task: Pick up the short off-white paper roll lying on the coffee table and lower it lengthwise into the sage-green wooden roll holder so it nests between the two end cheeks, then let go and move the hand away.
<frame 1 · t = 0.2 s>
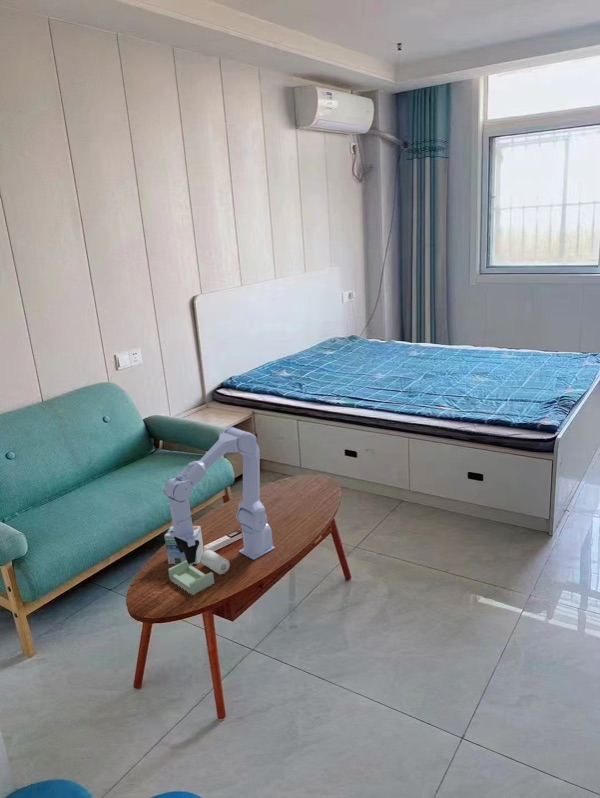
hand: (187, 557, 179), 10 cm above the table, tool pointing down, fingers open, 7 cm apart
roll: (214, 562, 189), point 2 cm above the table
holder: (191, 582, 183), on the table
light bulb box: (186, 559, 197), on the table
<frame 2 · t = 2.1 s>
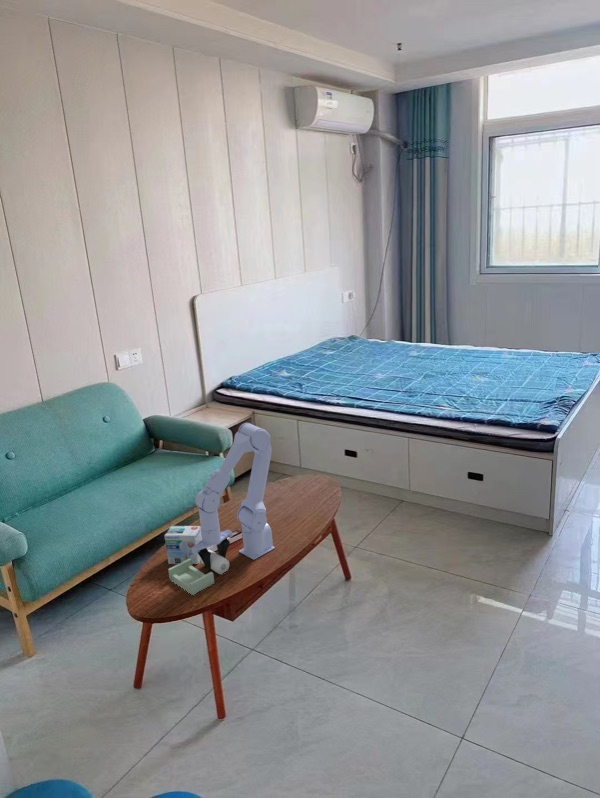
hand: (215, 564, 189), 1 cm above the table, tool pointing down, fingers closed on roll, 5 cm apart
roll: (214, 561, 189), point 2 cm above the table, touching gripper
everything else where it was.
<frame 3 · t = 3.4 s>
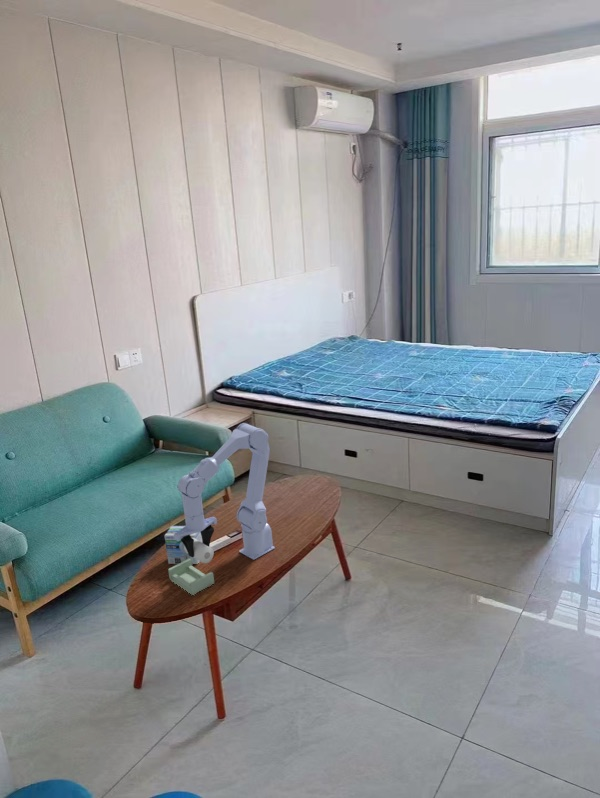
hand: (199, 552, 183), 9 cm above the table, tool pointing down, fingers closed on roll, 5 cm apart
roll: (198, 550, 183), point 9 cm above the table, tilted 5°, touching gripper
everything else where it was.
when the fingers open (4 cm above the table, at t = 5.1 s): roll stays where it is, resting on holder.
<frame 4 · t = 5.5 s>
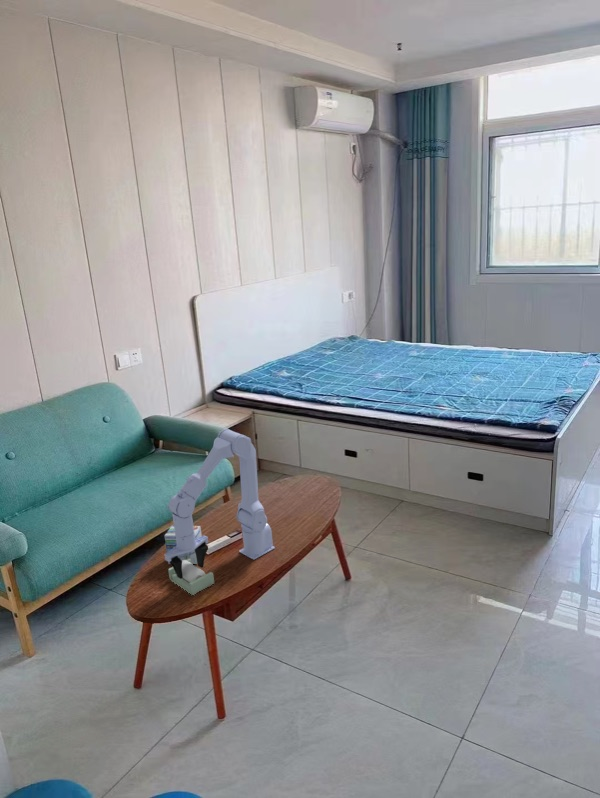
hand: (190, 571, 182), 4 cm above the table, tool pointing down, fingers open, 7 cm apart
roll: (190, 572, 182), point 3 cm above the table, touching holder
everything else where it was.
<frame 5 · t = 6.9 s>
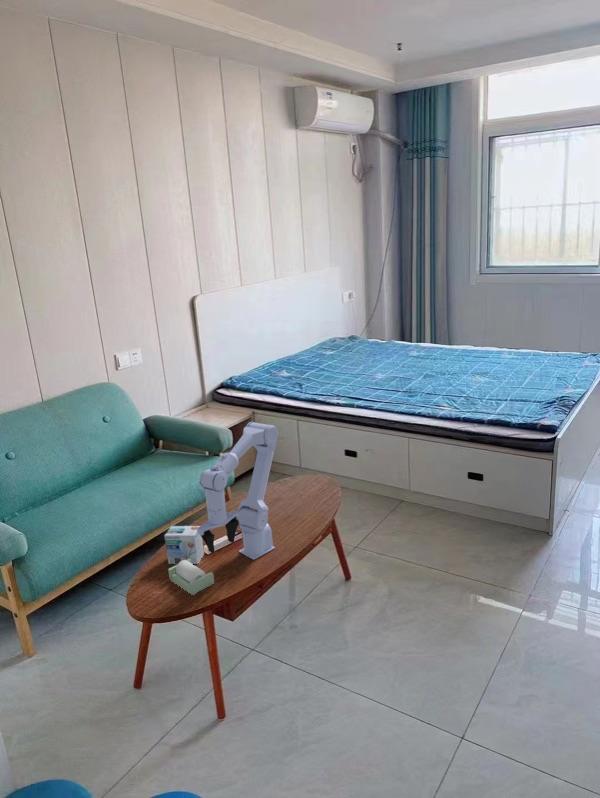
hand: (221, 546, 183), 10 cm above the table, tool pointing down, fingers open, 7 cm apart
nothing on the table moved.
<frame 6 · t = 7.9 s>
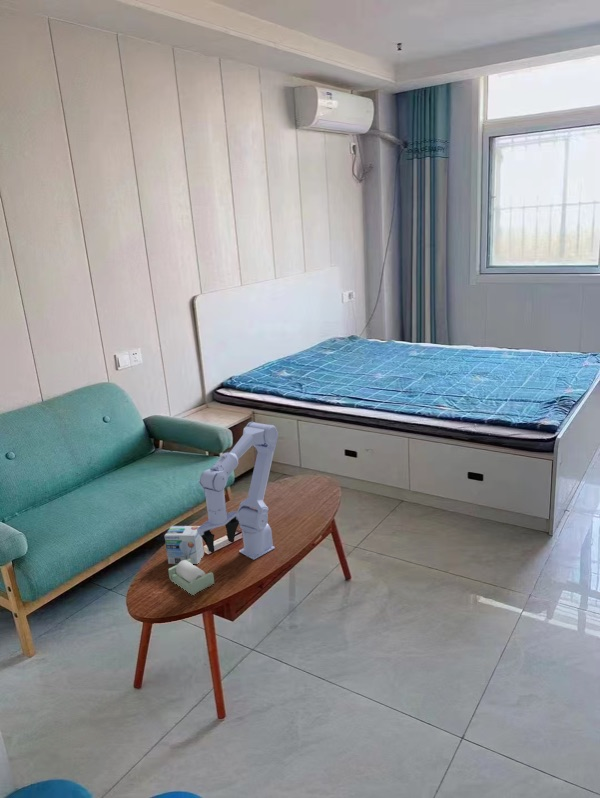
hand: (221, 546, 183), 10 cm above the table, tool pointing down, fingers open, 7 cm apart
nothing on the table moved.
at the end: roll 0.0 cm off-centre on the holder, point 3.3 cm above the holder's base; the gripper is holding nothing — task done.
